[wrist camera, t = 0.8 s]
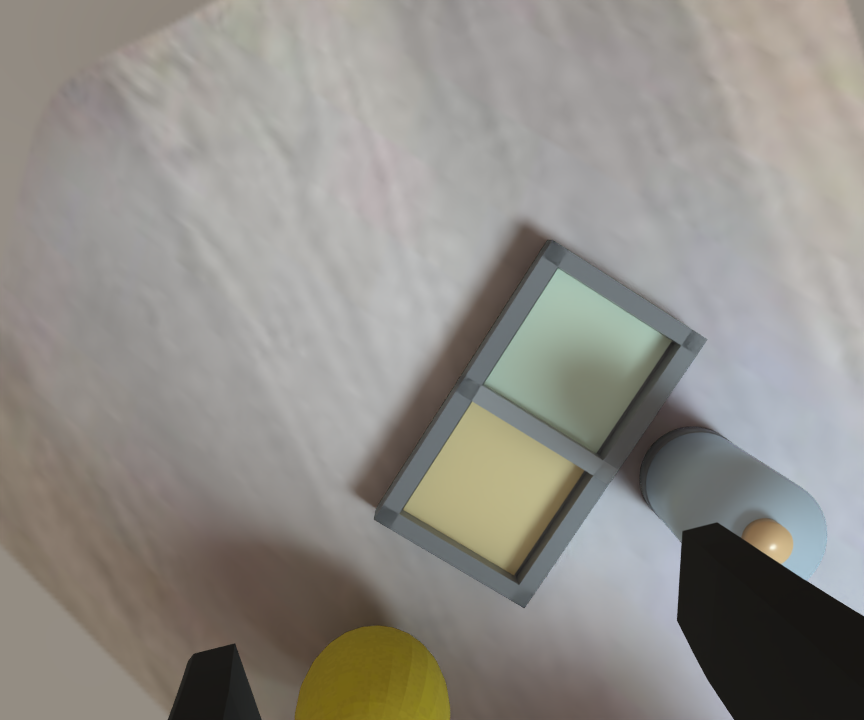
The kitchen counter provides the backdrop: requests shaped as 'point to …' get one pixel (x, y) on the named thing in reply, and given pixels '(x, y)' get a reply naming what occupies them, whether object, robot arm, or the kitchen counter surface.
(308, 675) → the lemon
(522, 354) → the checker tray
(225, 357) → the kitchen counter surface
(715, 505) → the cell
